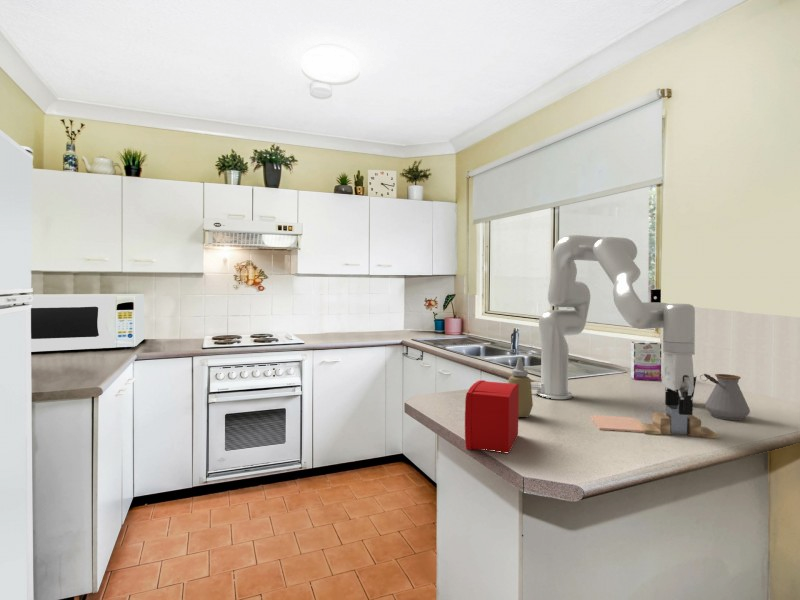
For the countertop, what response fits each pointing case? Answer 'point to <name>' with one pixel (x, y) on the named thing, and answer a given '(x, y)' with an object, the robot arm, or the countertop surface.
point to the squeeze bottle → (522, 388)
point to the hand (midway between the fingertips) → (678, 409)
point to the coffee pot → (726, 398)
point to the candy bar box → (646, 361)
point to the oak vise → (663, 423)
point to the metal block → (676, 420)
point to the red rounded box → (491, 416)
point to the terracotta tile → (617, 423)
